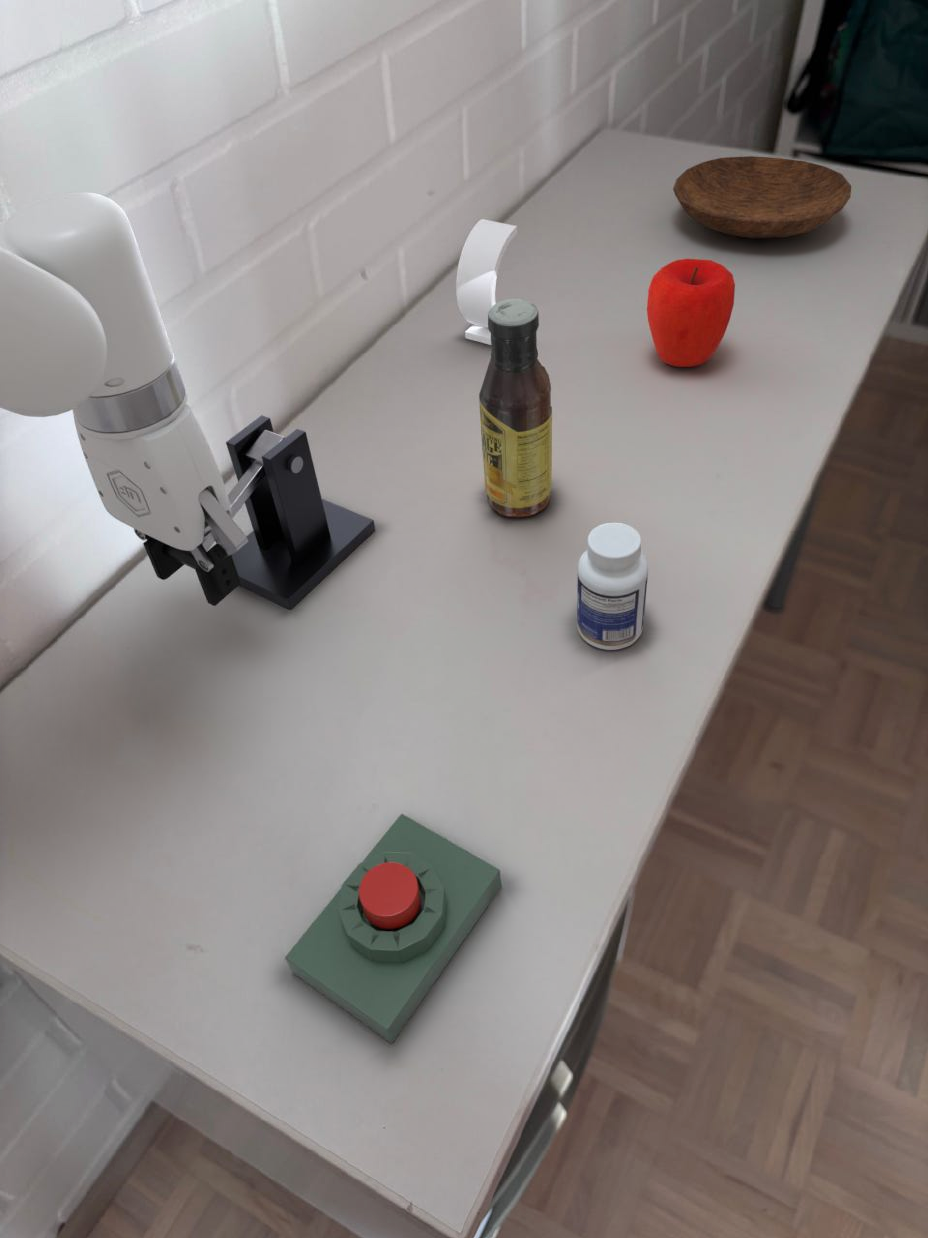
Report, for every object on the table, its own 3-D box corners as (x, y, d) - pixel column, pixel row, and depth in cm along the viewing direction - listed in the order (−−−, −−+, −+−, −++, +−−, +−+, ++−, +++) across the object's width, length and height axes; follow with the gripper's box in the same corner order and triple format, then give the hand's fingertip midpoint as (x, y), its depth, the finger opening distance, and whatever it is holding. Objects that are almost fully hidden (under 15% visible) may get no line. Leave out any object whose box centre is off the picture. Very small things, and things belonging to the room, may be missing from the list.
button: (397, 940, 57) (393, 927, 55) (351, 910, 58) (346, 897, 57) (432, 893, 59) (429, 880, 57) (386, 865, 60) (383, 851, 59)
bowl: (826, 270, 115) (835, 229, 111) (651, 247, 122) (653, 208, 119) (856, 202, 126) (864, 164, 123) (694, 185, 134) (697, 148, 130)
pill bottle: (597, 595, 80) (600, 507, 73) (654, 619, 78) (663, 530, 71) (564, 635, 77) (564, 547, 70) (622, 662, 75) (628, 573, 68)
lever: (214, 583, 75) (200, 567, 73) (171, 561, 77) (156, 545, 75) (308, 459, 79) (297, 441, 77) (264, 442, 81) (252, 424, 79)
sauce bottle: (482, 484, 92) (467, 292, 77) (546, 475, 92) (543, 282, 77) (491, 528, 87) (476, 333, 73) (558, 519, 87) (557, 323, 73)
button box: (392, 1044, 56) (382, 1018, 53) (291, 972, 60) (277, 944, 57) (501, 886, 63) (498, 855, 60) (405, 829, 66) (398, 798, 63)
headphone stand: (521, 326, 111) (517, 226, 102) (494, 351, 108) (488, 249, 99) (487, 318, 113) (481, 218, 104) (460, 342, 110) (451, 241, 101)
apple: (665, 391, 100) (674, 295, 92) (629, 351, 106) (634, 258, 98) (740, 371, 101) (755, 275, 94) (700, 332, 107) (711, 239, 99)
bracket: (290, 610, 82) (255, 494, 72) (216, 573, 86) (174, 459, 76) (375, 529, 88) (353, 414, 79) (303, 499, 92) (274, 385, 83)
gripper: (4, 384, 66) (95, 572, 79) (172, 456, 59) (242, 651, 72) (87, 334, 70) (162, 521, 83) (255, 395, 63) (307, 590, 76)
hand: (198, 579), depth 77 cm, fingers closed on lever, 5 cm apart
